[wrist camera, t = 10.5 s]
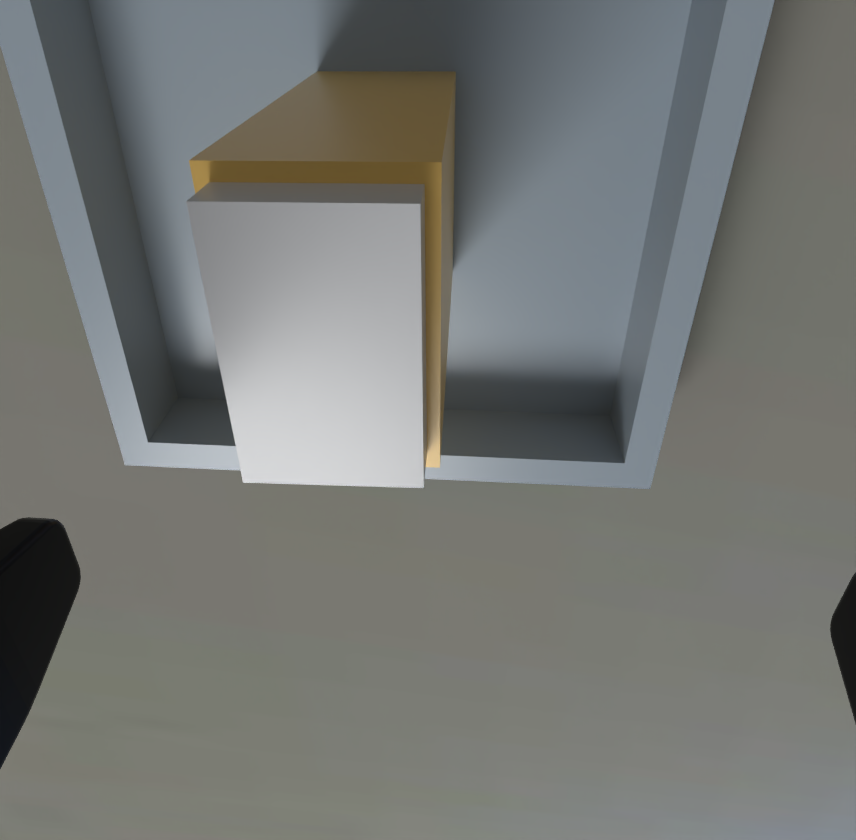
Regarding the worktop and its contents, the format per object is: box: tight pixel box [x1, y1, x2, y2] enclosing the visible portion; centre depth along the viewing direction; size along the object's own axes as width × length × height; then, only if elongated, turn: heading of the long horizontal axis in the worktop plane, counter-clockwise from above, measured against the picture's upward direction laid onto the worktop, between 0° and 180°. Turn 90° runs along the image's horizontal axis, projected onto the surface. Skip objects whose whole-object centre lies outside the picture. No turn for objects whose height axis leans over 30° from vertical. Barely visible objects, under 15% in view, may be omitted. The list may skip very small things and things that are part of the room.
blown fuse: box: [186, 71, 456, 488], centre depth 12 cm, size 3×4×9 cm, turn 0°
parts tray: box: [0, 0, 775, 489], centre depth 15 cm, size 14×14×3 cm
